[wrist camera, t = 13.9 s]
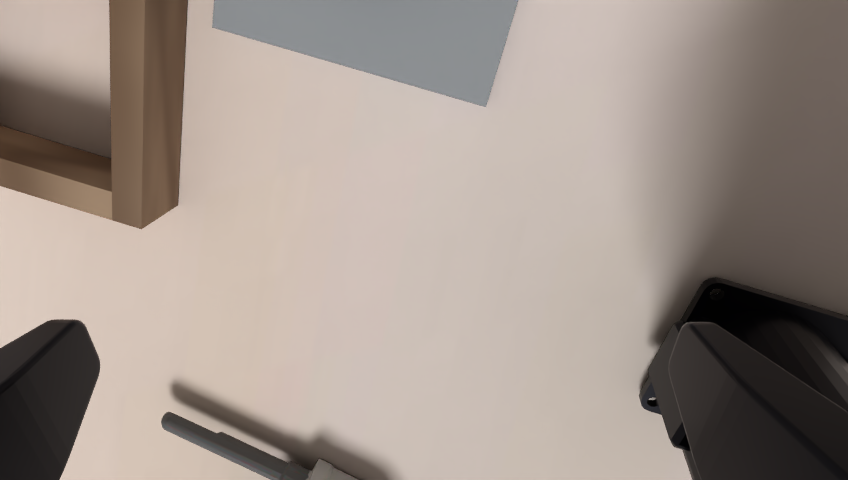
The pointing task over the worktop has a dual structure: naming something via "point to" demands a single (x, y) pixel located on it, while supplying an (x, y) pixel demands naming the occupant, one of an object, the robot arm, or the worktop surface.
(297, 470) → the walkie-talkie
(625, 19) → the worktop surface
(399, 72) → the mat
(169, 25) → the square wooden frame
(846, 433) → the robot arm
